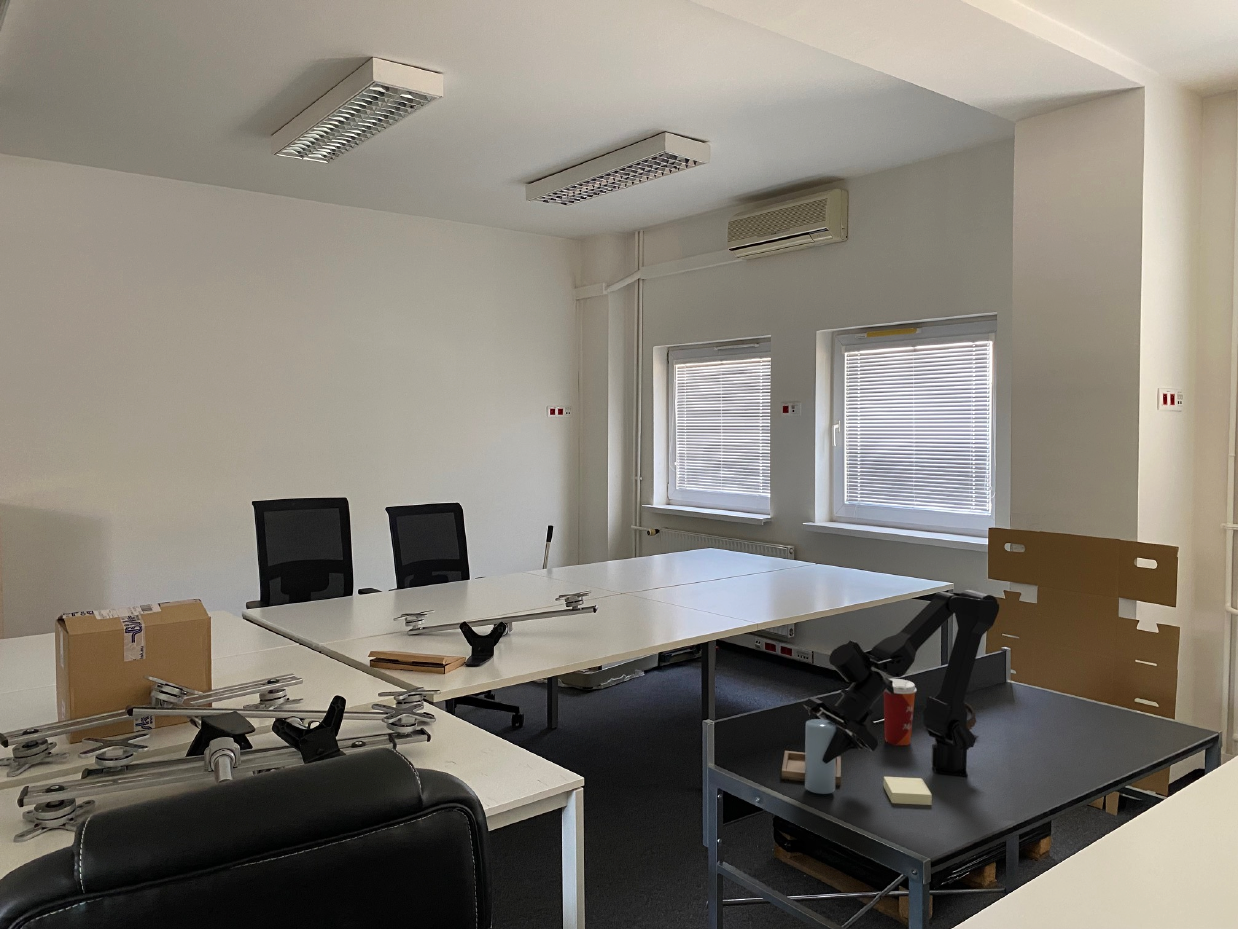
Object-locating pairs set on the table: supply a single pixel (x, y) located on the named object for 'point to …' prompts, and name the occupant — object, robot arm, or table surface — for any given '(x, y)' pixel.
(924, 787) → the sticky note pad
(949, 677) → the robot arm
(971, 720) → the pottery mug
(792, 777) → the tray
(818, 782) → the pale blue cylinder
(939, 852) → the table surface
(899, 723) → the paper cup
